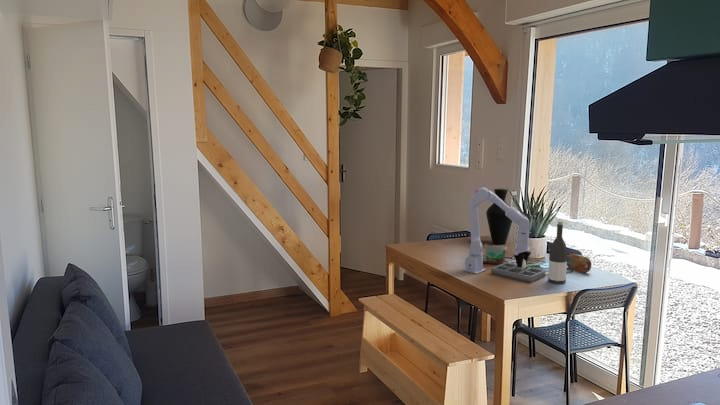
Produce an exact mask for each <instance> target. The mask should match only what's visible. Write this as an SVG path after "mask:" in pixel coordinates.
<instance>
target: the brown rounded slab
mask: <svg viewBox="0 0 720 405" xmlns="http://www.w3.org/2000/svg"><path fill="white" fill-rule="evenodd" d="M567 268H568V269H569V268H570V270H572V271H575V272H578V273H581V274H584V273H588V272H590V271H591V269H592V261H591V260H590V258H589V257H587V256H584V255H580V254H578V253H577V254H576V253H569V254H567Z"/></svg>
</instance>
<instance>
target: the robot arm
mask: <svg viewBox="0 0 720 405" xmlns="http://www.w3.org/2000/svg"><path fill="white" fill-rule="evenodd" d="M486 201H487V202H490V203H495V204H496V205H498V206H499V207H500V208H501V209H503V210H504V211H505V215H506V216H507V217H508V218H509V219H511V220H512V223H514V224H517V232H516V233H517V234H516V248H515V250H513V253H512V254H513V257H514V259H515V262H516V263H515V264H516V265H517V267H520V268H521V267H522V263H523V259H524V260H525V261H526V264H527V263H528V259H529V258H530V255H531V253H532V252H531V247H532V246H530V245H529V241H530V240H529V239H530V238H529V237H530V226H531V224H530V220H529V218H528V217H527V216H526V215H525V214H524V213H523V214H522V213H521V212H520V211H519V210H518V208H517V207H514V206H510V205H509V204H508V203H507V204H508V205H509V206H510V207H509V206H508V205H507V204H506V203H504V202H503V201H502V200H501V199H500V198H499V197H498V196H497V195H496V194H495V192H494V191H491V190H489V189H488V188H487V187H485V186H480V187H478V188H477V189H476V190H475V191H474V193H473V194H472V196H471V198H470V199H469V201H468V202H467V203H468V204H467V205H468V217H469V229H470V230H469V231H470V246H469V252H468V255H467V257H465V262H464V265H465V266H464V269H463V272H467V273H471V274H476V275H477V274H479V273H481V272H484V271H487V269H486V268H483V266H484V265H483V263H484V253H483V246H484V245H483V242H482V241H481V234H480V222H479V211H478V208H479V205H481V204H482V203H484V202H486Z"/></svg>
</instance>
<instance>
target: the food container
mask: <svg viewBox="0 0 720 405" xmlns="http://www.w3.org/2000/svg"><path fill="white" fill-rule="evenodd" d="M484 249H485V256H486V257H485V258H486V263H487V262H488V263H487V264H490V263H491V264H490V265H500V264H499V263H501V262H503V261H504V262H505V259H506V252H507V250H508V247H507V245H503V246H501V245H489V244H485V245H484Z"/></svg>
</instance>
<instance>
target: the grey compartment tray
mask: <svg viewBox="0 0 720 405" xmlns="http://www.w3.org/2000/svg"><path fill="white" fill-rule="evenodd" d="M517 268H518V267H517V263H510V262H504V263H503V264H497V265H496V266H495V265H494V267H491V268H490V269H491V271H490V274H492V275H495V276H500V277H504V278H508V279H509V278H510V279H513V280H517V281H521V282H527V283H531V284H532V283H534V282H536V281H538V280H540V279H542V278H544V277H546V270H545V269H540V268H536V267H530V266H526V270H521V269H517Z"/></svg>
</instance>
